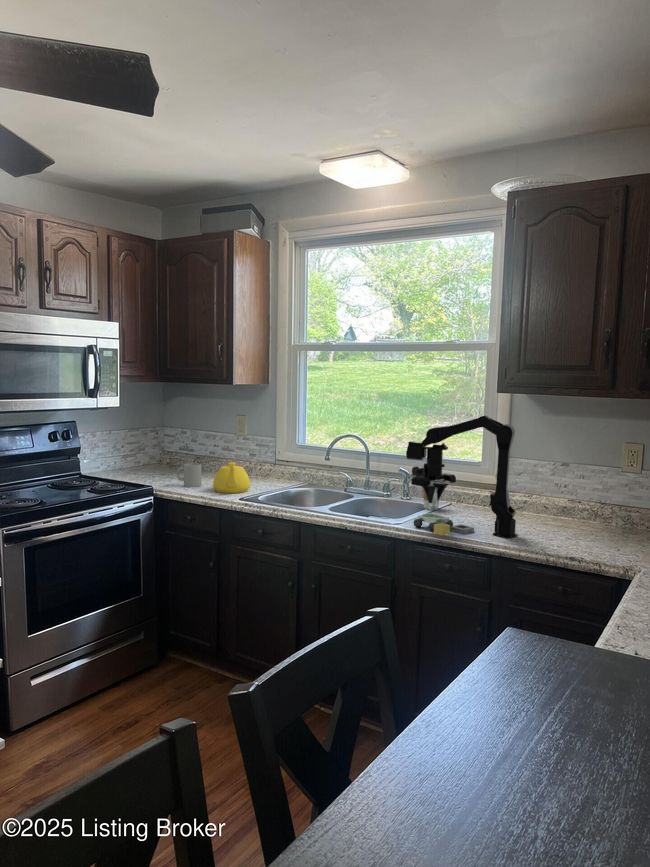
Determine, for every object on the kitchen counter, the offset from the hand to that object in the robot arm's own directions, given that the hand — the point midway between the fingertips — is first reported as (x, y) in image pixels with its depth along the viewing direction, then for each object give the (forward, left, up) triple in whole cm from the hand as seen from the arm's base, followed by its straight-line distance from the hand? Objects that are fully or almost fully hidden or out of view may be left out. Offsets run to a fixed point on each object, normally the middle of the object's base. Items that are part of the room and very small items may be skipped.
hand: (433, 502), depth 237 cm
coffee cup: (+25, -26, -10) cm, 37 cm away
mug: (+128, +37, -10) cm, 133 cm away
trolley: (-1, +1, -9) cm, 9 cm away
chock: (-9, +5, -10) cm, 14 cm away
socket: (-10, -4, -9) cm, 15 cm away
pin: (0, 0, -3) cm, 2 cm away
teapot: (+105, +26, -10) cm, 108 cm away
